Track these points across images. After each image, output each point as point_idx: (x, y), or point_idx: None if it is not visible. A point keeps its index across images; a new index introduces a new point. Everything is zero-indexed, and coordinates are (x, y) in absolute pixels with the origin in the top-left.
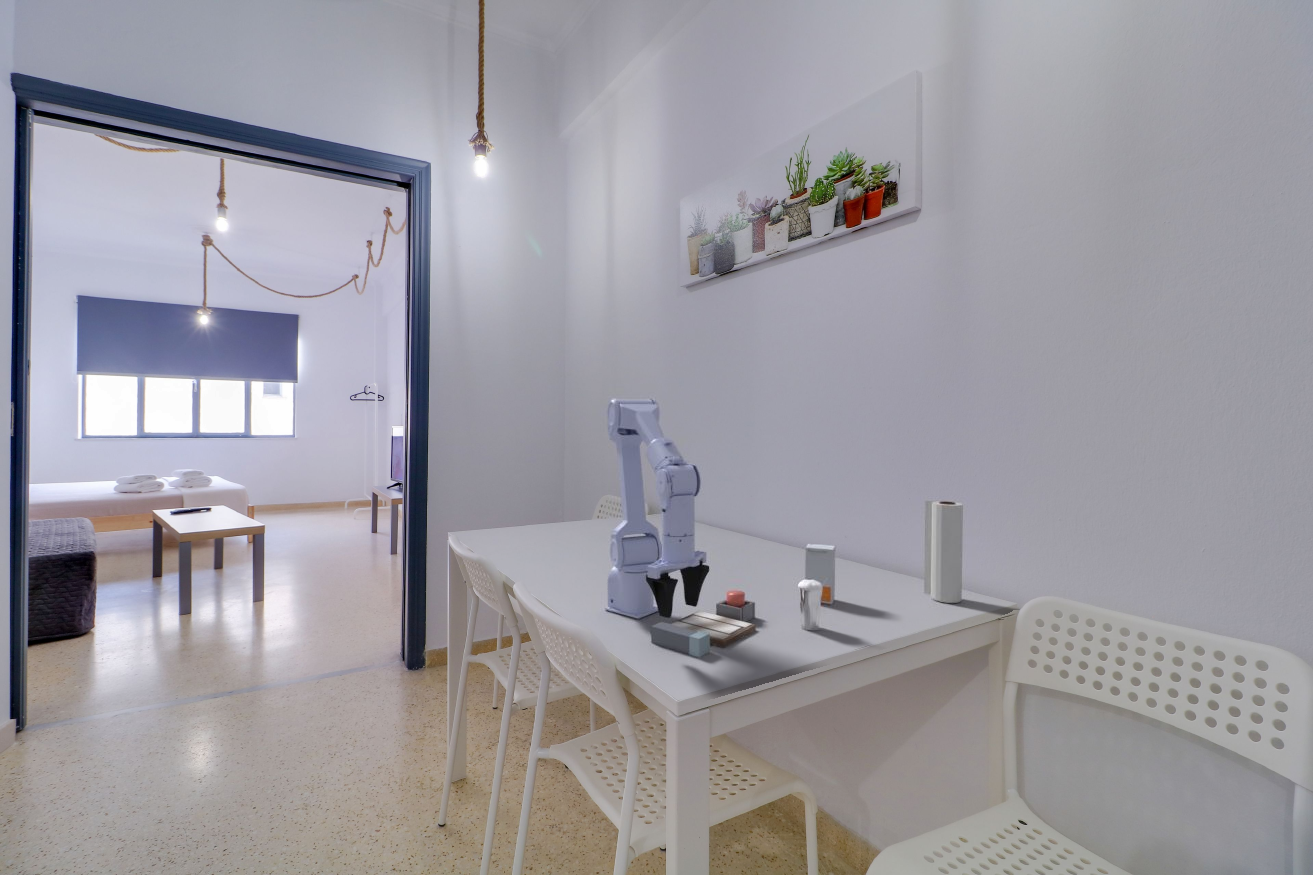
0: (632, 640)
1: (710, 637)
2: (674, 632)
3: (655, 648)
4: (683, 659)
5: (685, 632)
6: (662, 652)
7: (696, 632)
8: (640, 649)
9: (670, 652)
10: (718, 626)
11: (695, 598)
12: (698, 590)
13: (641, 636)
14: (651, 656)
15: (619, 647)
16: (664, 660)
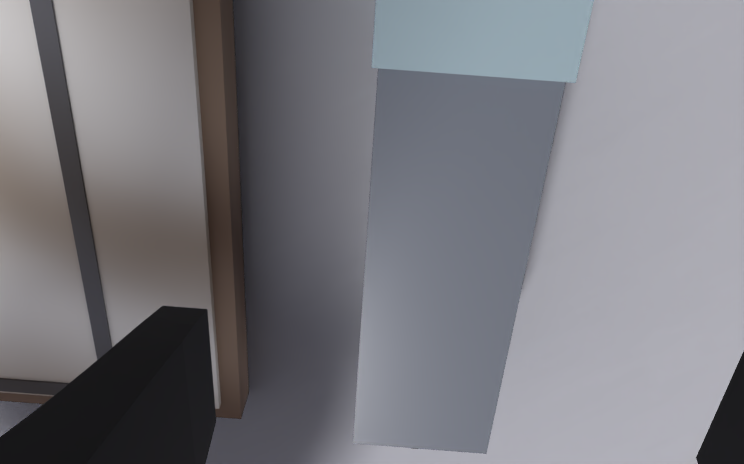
0: (504, 455)
1: (206, 24)
2: (520, 257)
3: (554, 297)
4: (661, 22)
5: (466, 179)
6: (599, 226)
7: (409, 88)
8: (616, 358)
9: (572, 181)
10: None
11: (168, 380)
12: (74, 455)
13: (418, 449)
14: (701, 248)
15: (642, 457)
16: (739, 137)
